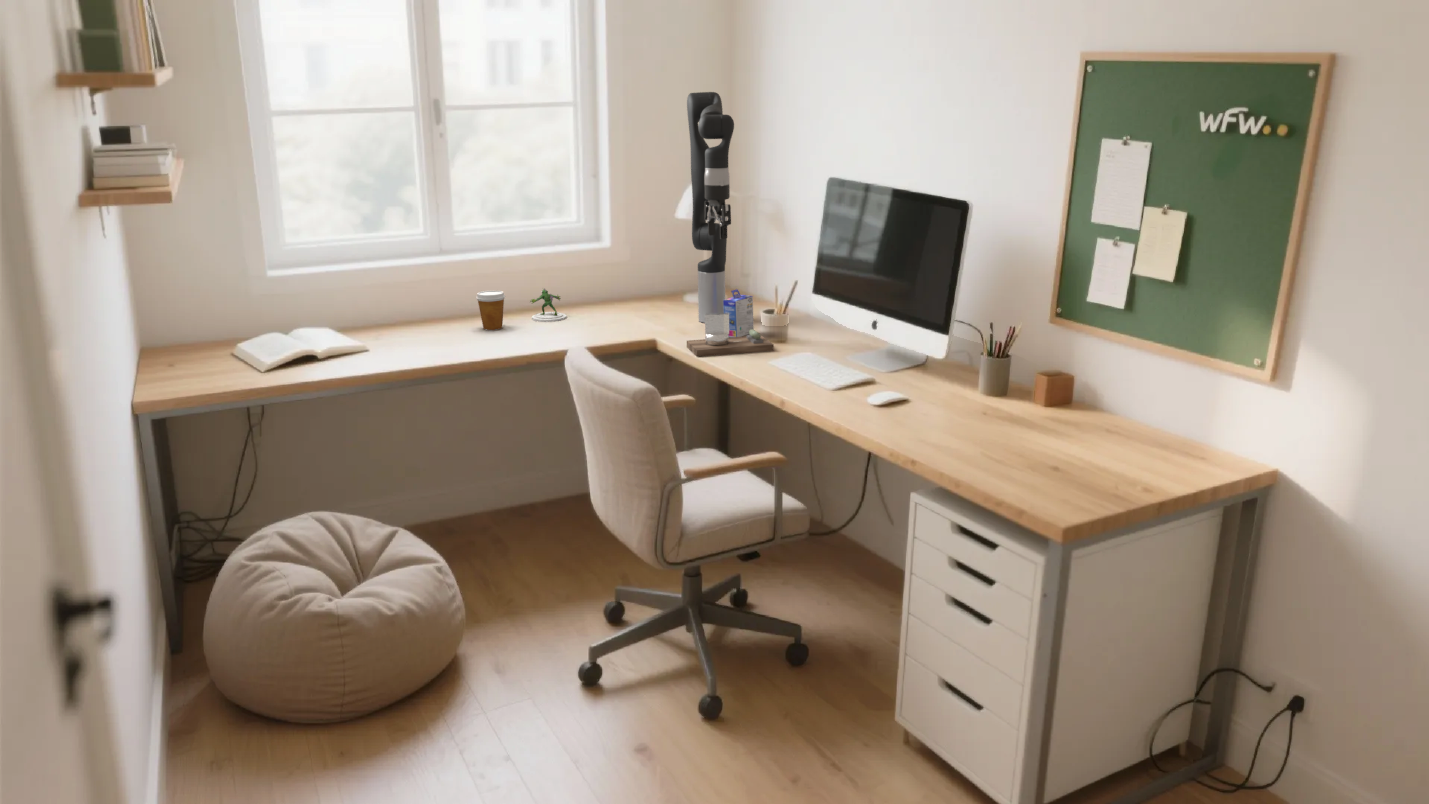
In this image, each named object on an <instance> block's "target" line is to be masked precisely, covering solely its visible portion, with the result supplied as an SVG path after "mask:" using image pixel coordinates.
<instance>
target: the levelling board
mask: <svg viewBox="0 0 1429 804" xmlns="http://www.w3.org/2000/svg"><path fill="white" fill-rule="evenodd" d="M686 348H687V349H688V350H689V351H690V352H691V353H692V354H693V356H696V358H697V357H698V358H699V357H708V356H709V357H711V356H724V355H735V354H736V355H737V354H750V353H751V354H752V353H762V352H763V353H764V352H773V351H774V348H775V347H774V344H773V343H772V342H771V341H770V340H768V339H767V338H765V337H764V336H763V335H762V334H760V333H759V332H758V331H756V330H755V329H751V330H750V331H749V334H747V335H744V336H741V337H728V344H727V345H722V346H711V345H707V344H706V341H705V339H704V338H703V339H693V340H691V339H690V340H686Z"/></svg>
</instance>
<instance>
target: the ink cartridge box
mask: <svg viewBox="0 0 1429 804" xmlns="http://www.w3.org/2000/svg"><path fill="white" fill-rule="evenodd" d="M730 292H731V295H732V296H731V297H729V298H725V300H723V306H724V313H729V334H728V338H730V337H744V336H747V335H750V334H749V331H750V330H751V329H754V328H755V327H754V326H755V325H754V296H753V295H746V294H741V293H740V291H739V289H737V288H736V289H733V290H731V291H730ZM735 293H736V294H735ZM754 330H755V329H754Z"/></svg>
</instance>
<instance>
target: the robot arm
mask: <svg viewBox="0 0 1429 804" xmlns="http://www.w3.org/2000/svg"><path fill="white" fill-rule="evenodd" d="M686 111H687V113H686V114H687V120H688V121H687V122H688V131H689V142H690V176H691V177H690V180H691V181H690V182H691V191H692V193H691V195H692V216H691V217H692V222H691V239H692V245H693V247H694V248H695V250H698V251H709V252H711V255H710V257H709V258H707V259H704V260H701V261H699V262H698V263H697V295H698V296H697V298H698V299H697V301H698V303H697V305H698V306H697V307H698V313H697V314H698V321H699V322H700V323H704V324H705V314H722V313H724V306H723V300H725V299H726V262H727V242H728V240H727V239H728V226H729V225H731V224H732V214H731V213H732V212H731V211H732V210H731V209H732V207H731V204H729V203H727V204H726V200H729V199H730V197H731V196H730V188H731V187H730V172H729V171H730V169H729V152H730V144H731V141H732V138H733V137H732V136H733V134H734V129H735V123H734V119H733V117H732V116H731V115H729V114H723V112H724V111H723V101H722V97H721V96H720V94H719V93H718V92H714V91H702V92H701V91H700V92H690V93H688V96H687V97H686ZM706 140H721V142H720V143H719V144H718V145H716V146H712V147H710V146H709V145H708V143H707V142H706ZM716 221H718V222H716Z"/></svg>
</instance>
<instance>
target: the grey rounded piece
mask: <svg viewBox="0 0 1429 804" xmlns="http://www.w3.org/2000/svg"><path fill="white" fill-rule="evenodd" d="M704 327H705V329H704V334H705V341H706V344H707V345H711V346H722V345H727V344H728V338H729V337H728V334H729V313H722V314H705V323H704Z"/></svg>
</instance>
